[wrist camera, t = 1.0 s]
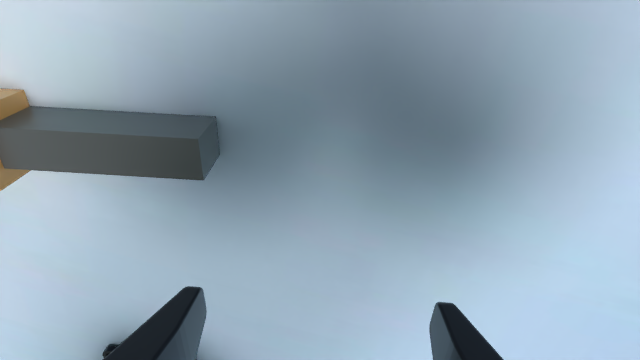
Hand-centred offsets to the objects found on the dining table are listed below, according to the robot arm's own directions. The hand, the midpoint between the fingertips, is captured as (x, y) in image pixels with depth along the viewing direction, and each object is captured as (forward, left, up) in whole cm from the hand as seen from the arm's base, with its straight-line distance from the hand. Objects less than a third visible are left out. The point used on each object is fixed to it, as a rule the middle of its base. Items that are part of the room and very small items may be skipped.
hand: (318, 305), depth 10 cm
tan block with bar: (0, +12, -10) cm, 16 cm away
